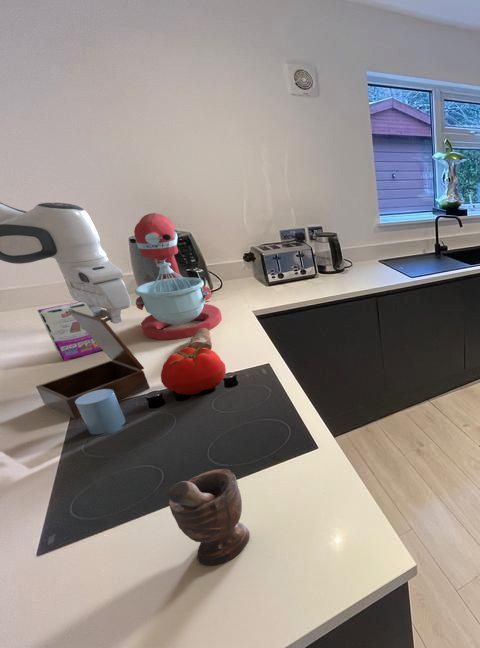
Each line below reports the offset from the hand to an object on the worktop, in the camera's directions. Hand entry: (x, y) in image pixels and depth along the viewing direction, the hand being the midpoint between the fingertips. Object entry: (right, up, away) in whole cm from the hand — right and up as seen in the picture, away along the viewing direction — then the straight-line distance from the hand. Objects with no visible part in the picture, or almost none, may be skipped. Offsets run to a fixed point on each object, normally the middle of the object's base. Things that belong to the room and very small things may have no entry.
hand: (109, 320), depth 105 cm
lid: (-1, -6, 0) cm, 6 cm away
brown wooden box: (-3, -21, +1) cm, 21 cm away
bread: (+1, -9, +30) cm, 31 cm away
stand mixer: (-19, -2, +47) cm, 50 cm away
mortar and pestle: (+59, -39, -38) cm, 80 cm away
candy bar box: (-32, -11, +24) cm, 42 cm away
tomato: (+19, -19, +7) cm, 28 cm away
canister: (+10, -26, -10) cm, 29 cm away
